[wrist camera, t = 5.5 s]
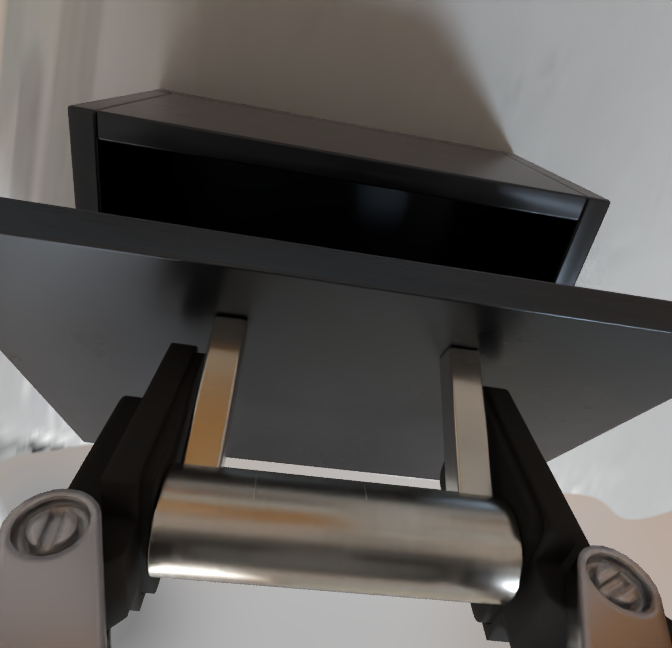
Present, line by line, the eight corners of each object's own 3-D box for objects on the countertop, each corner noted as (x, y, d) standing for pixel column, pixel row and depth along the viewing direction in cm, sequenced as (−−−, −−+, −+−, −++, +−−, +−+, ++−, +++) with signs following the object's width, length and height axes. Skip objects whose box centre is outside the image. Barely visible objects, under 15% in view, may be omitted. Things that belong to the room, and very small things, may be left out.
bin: (157, 88, 22) (66, 105, 14) (515, 154, 23) (612, 201, 15) (157, 319, 27) (91, 424, 19) (447, 358, 29) (494, 469, 21)
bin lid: (-101, 179, 8) (-364, 525, 6) (759, 313, 10) (905, 630, 7) (90, 422, 19) (34, 585, 16) (497, 467, 21) (514, 622, 18)
